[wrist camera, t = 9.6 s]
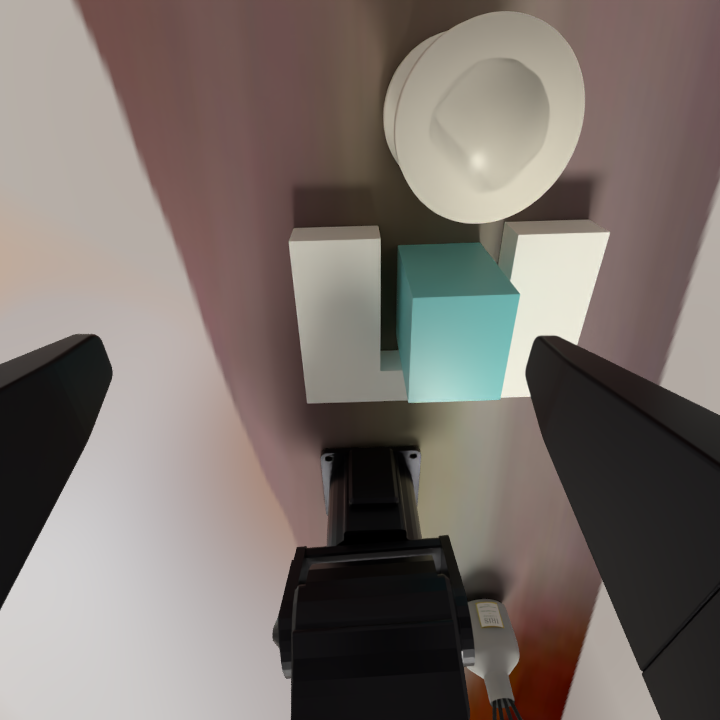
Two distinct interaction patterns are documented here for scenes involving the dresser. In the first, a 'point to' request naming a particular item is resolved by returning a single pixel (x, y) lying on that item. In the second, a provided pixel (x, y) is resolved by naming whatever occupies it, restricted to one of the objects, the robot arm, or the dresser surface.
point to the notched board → (363, 299)
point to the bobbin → (485, 115)
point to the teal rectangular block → (453, 322)
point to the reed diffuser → (494, 652)
